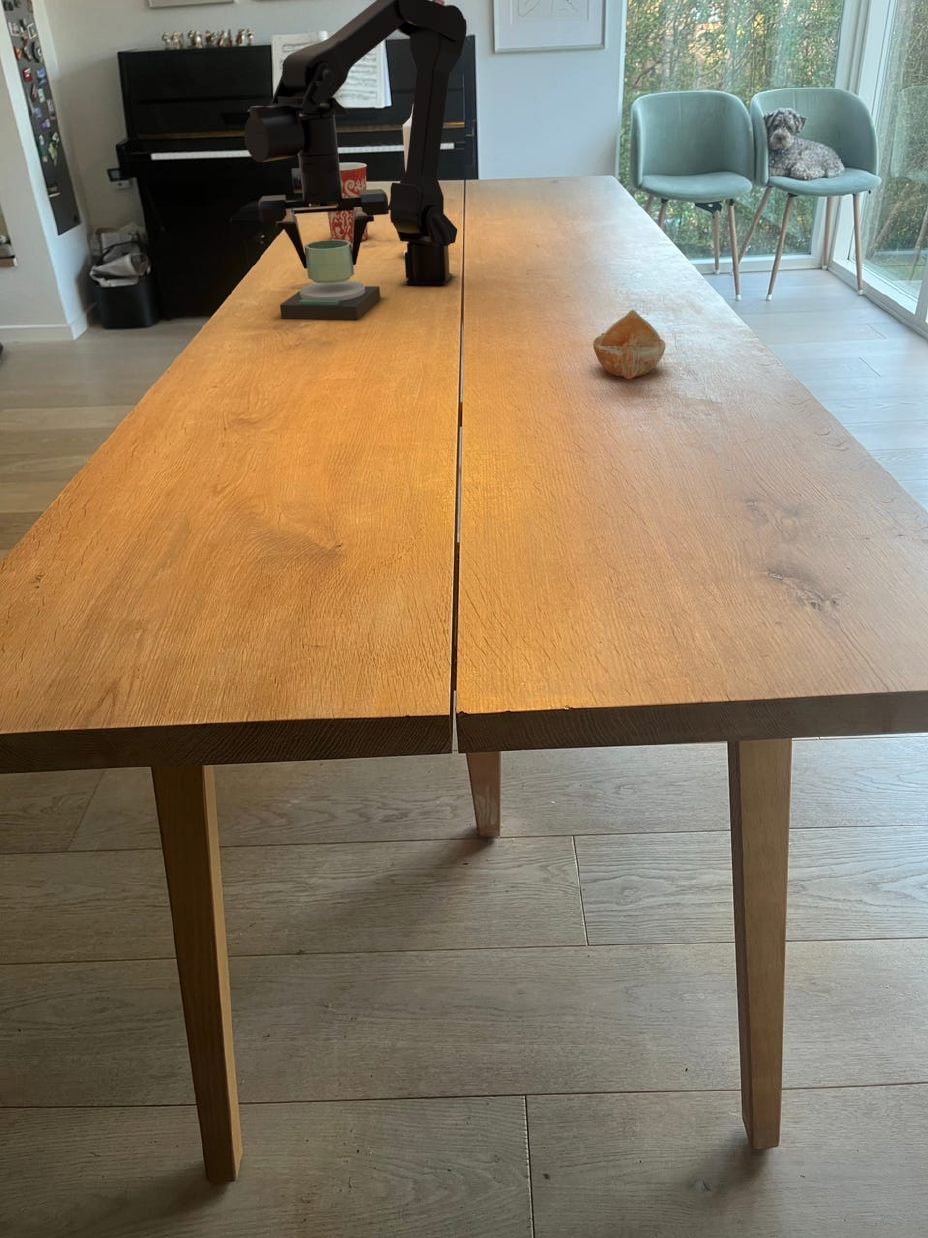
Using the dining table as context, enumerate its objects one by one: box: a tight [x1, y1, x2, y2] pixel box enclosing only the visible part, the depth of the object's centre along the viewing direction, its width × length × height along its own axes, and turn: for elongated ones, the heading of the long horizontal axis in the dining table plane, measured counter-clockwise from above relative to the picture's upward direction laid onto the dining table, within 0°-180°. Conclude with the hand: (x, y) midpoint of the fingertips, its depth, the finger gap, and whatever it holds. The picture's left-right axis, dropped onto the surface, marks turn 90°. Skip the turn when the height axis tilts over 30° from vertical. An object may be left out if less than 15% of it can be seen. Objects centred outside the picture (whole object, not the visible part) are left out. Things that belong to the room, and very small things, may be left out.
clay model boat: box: [592, 309, 666, 380], centre depth 119 cm, size 9×21×10 cm, turn 173°
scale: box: [279, 280, 381, 321], centre depth 151 cm, size 12×12×3 cm
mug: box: [326, 162, 369, 244], centre depth 195 cm, size 13×9×14 cm
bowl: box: [303, 239, 355, 283], centre depth 149 cm, size 7×7×5 cm
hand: (330, 266), depth 149 cm, fingers closed on bowl, 7 cm apart
